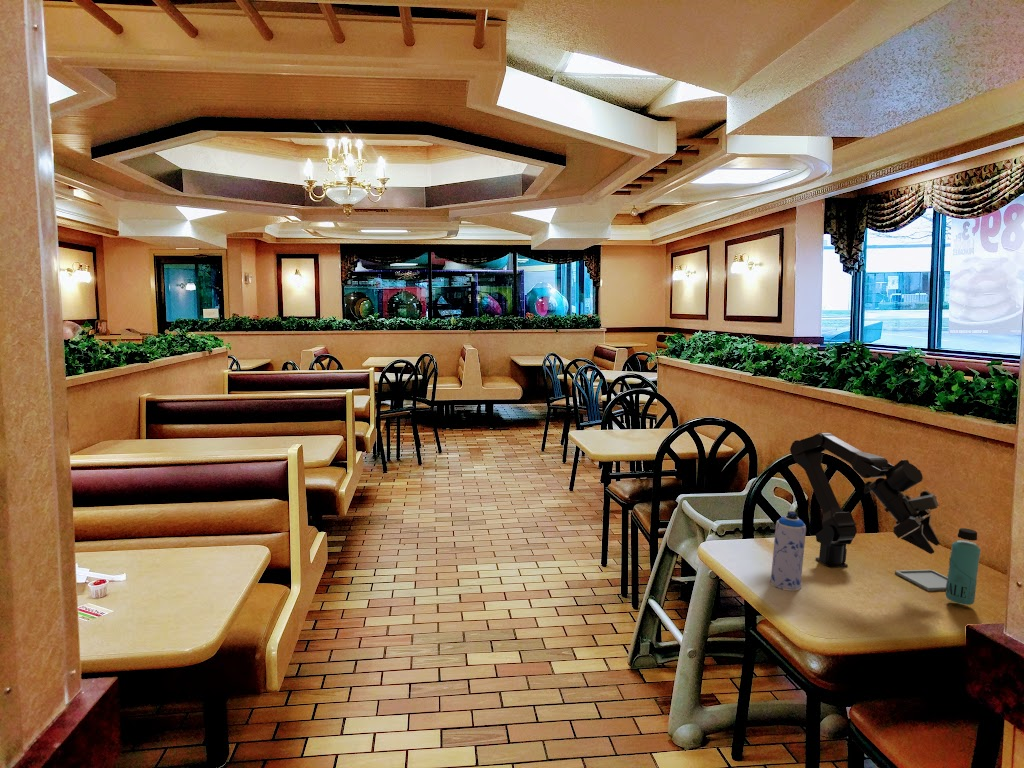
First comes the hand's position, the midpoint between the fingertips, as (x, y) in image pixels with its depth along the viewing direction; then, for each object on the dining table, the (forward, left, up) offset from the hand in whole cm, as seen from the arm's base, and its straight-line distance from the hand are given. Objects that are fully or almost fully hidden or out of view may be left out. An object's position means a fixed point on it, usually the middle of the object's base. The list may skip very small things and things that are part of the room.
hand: (935, 548), depth 178 cm
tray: (+9, +10, -13) cm, 19 cm away
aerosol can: (-35, +11, -13) cm, 39 cm away
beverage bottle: (+4, -5, -13) cm, 15 cm away
